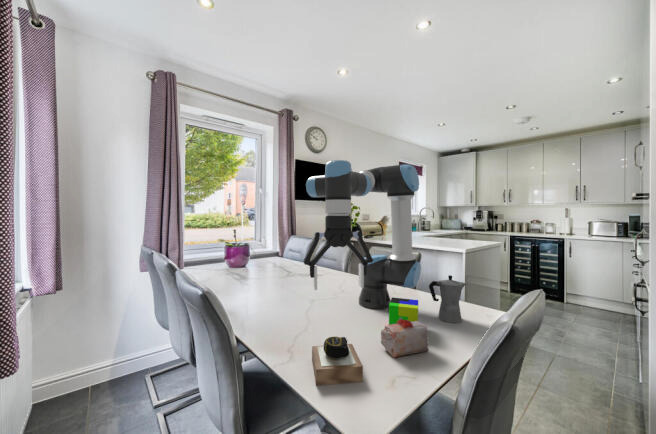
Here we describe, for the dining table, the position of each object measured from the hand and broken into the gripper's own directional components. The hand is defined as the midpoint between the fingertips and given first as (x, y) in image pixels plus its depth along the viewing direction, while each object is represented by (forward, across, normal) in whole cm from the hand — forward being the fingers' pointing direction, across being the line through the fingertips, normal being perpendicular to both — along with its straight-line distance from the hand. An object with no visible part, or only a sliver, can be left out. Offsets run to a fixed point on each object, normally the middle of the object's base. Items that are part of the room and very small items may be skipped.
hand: (338, 287), depth 79 cm
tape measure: (+17, +1, +5) cm, 18 cm away
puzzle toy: (+22, -28, -18) cm, 40 cm away
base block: (+21, +2, +5) cm, 22 cm away
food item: (+22, -22, -2) cm, 31 cm away
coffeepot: (+23, -50, -24) cm, 60 cm away
